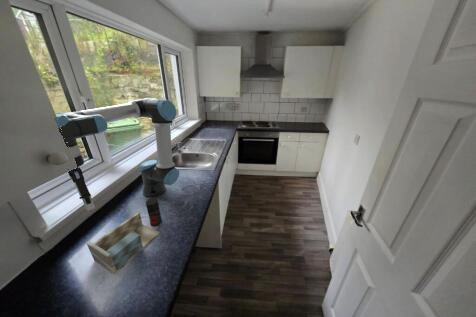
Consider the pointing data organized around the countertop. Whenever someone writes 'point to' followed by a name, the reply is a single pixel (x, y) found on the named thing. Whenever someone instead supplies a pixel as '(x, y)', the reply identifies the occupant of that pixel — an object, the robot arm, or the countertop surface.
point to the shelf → (124, 232)
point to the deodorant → (154, 211)
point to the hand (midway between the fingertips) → (87, 201)
